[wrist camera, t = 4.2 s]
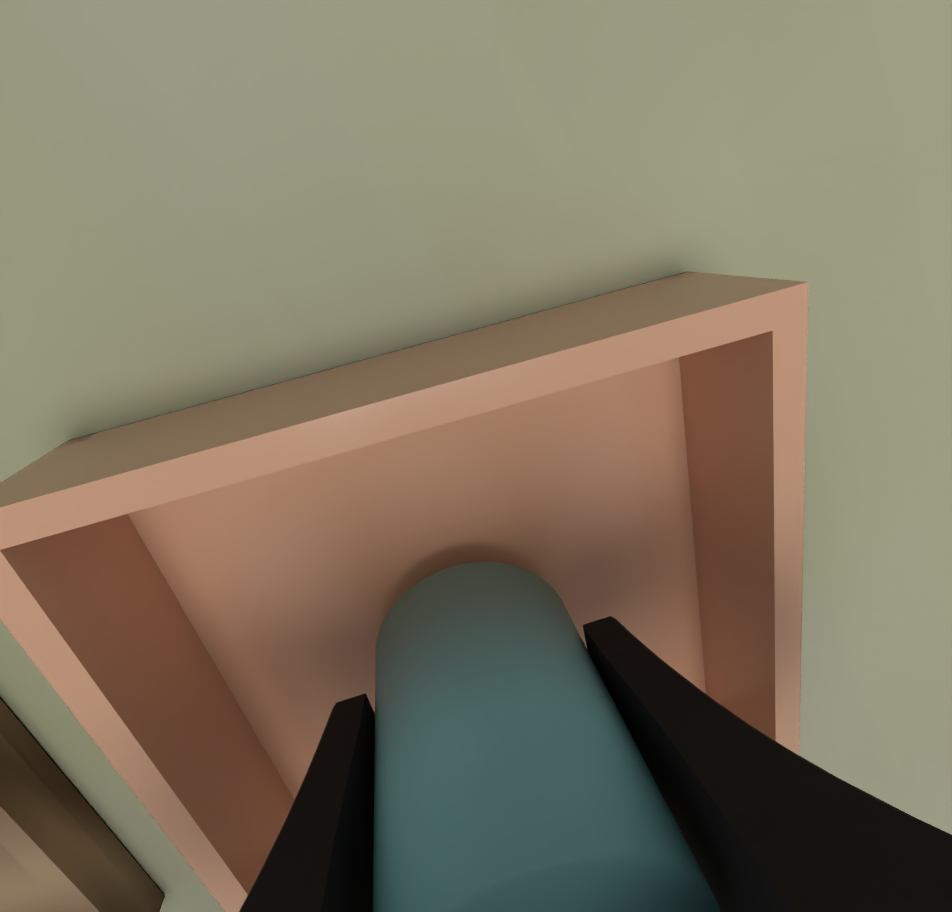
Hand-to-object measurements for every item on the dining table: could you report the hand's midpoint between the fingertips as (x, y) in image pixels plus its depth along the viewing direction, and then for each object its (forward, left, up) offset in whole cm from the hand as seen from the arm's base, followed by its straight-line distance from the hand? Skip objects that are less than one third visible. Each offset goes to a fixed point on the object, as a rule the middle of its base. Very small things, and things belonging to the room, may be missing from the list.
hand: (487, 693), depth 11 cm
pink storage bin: (0, 0, -3) cm, 3 cm away
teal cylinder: (0, 0, -1) cm, 1 cm away
